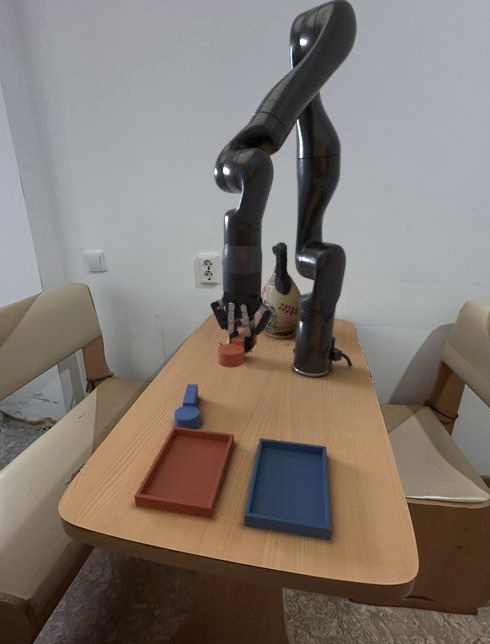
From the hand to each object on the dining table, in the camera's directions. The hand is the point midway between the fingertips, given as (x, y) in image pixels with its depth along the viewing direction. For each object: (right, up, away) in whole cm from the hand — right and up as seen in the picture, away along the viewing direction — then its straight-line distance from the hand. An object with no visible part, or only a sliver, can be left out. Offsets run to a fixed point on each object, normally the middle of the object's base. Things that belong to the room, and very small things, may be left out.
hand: (241, 349), depth 78 cm
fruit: (-1, -3, +28) cm, 29 cm away
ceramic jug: (+14, +5, +45) cm, 48 cm away
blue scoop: (-11, -13, +4) cm, 18 cm away
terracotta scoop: (0, -1, 0) cm, 1 cm away
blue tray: (+7, -23, -16) cm, 29 cm away
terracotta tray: (-10, -21, -13) cm, 27 cm away
